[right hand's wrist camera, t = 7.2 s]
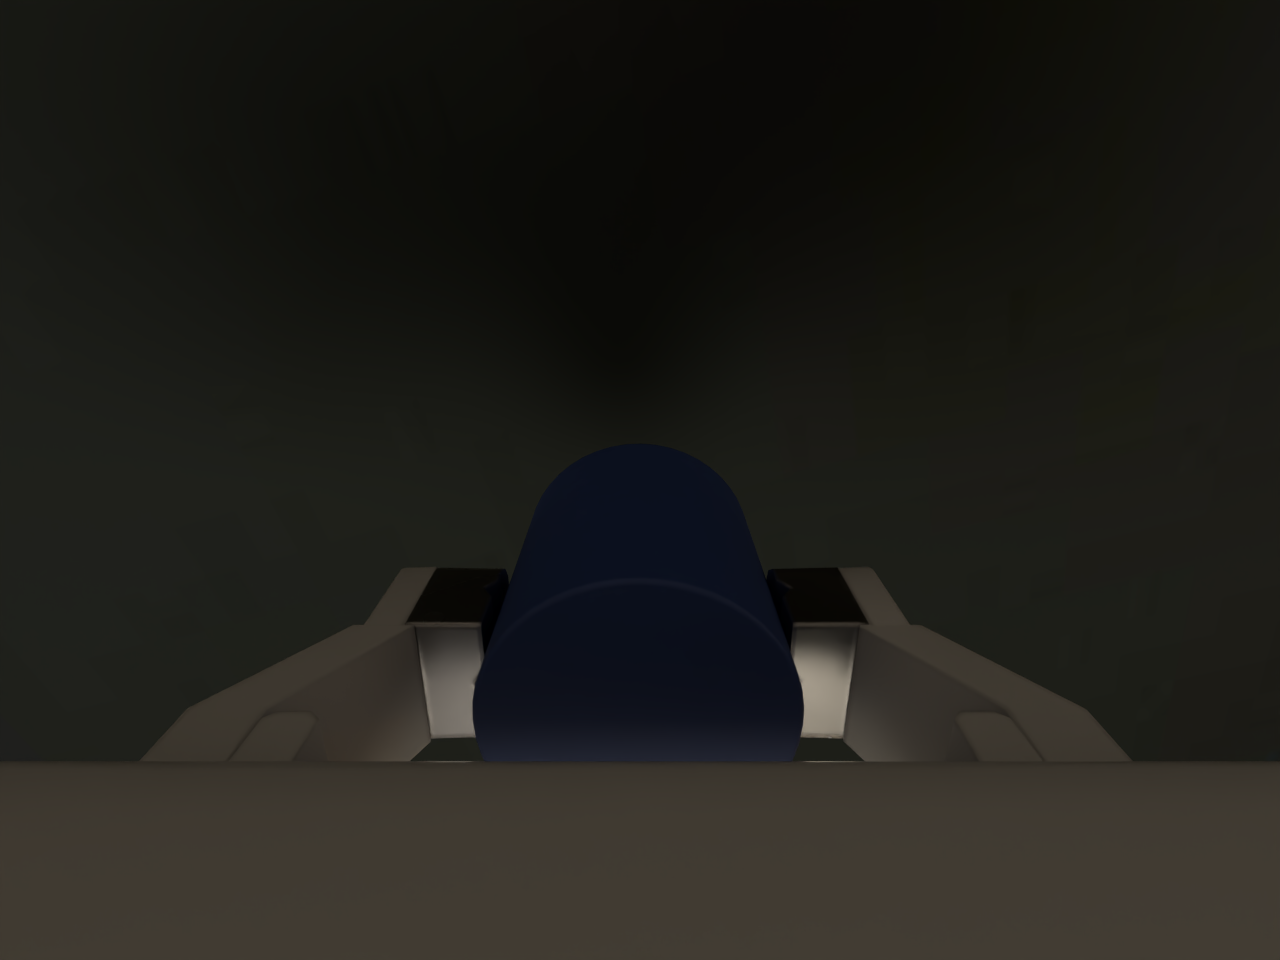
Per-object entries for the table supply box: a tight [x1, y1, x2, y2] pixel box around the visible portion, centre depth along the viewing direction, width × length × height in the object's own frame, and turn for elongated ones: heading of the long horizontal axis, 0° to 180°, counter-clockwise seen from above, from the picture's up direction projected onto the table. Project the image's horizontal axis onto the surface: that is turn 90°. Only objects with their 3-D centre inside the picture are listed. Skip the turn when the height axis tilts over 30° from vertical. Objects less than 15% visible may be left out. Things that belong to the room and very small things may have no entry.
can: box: [472, 444, 804, 761], centre depth 10 cm, size 4×4×5 cm
